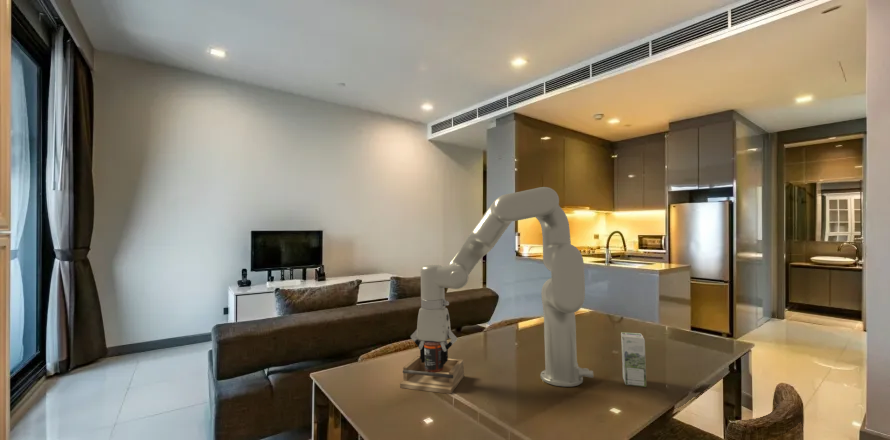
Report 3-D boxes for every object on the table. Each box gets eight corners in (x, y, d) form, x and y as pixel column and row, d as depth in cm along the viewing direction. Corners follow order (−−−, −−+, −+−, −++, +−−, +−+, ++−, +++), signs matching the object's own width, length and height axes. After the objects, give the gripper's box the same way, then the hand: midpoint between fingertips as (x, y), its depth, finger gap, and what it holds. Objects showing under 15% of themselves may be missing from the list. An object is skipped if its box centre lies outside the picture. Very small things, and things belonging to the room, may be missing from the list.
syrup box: (643, 380, 111) (641, 332, 112) (647, 387, 106) (644, 337, 106) (622, 378, 113) (620, 331, 114) (625, 385, 108) (623, 336, 108)
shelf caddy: (463, 376, 117) (463, 359, 117) (450, 393, 104) (450, 375, 104) (418, 371, 122) (417, 355, 122) (400, 387, 109) (399, 369, 109)
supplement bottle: (444, 366, 116) (443, 331, 117) (442, 373, 110) (441, 336, 111) (426, 366, 117) (425, 331, 118) (423, 373, 111) (422, 335, 112)
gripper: (462, 303, 116) (463, 360, 115) (412, 301, 121) (413, 356, 120) (455, 307, 109) (456, 368, 108) (403, 305, 114) (404, 363, 113)
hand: (434, 361), depth 114 cm, fingers closed on supplement bottle, 6 cm apart
